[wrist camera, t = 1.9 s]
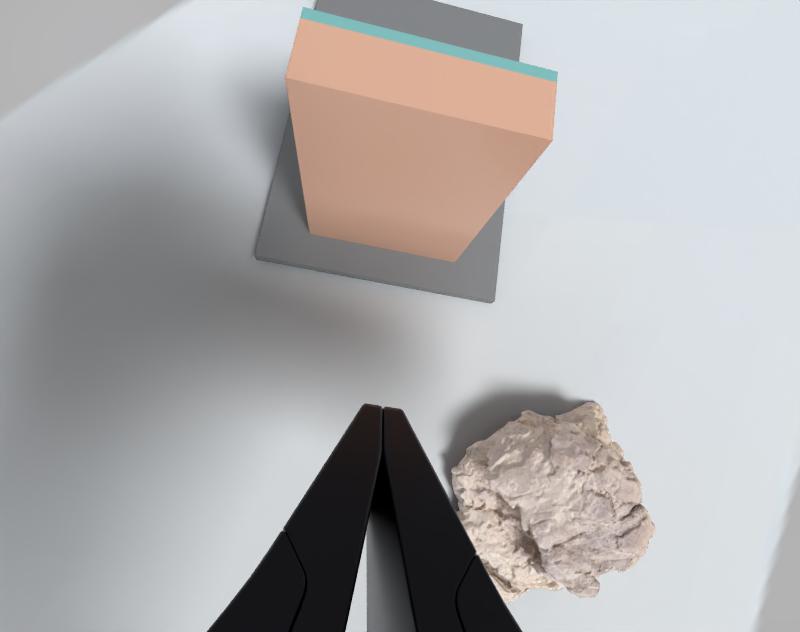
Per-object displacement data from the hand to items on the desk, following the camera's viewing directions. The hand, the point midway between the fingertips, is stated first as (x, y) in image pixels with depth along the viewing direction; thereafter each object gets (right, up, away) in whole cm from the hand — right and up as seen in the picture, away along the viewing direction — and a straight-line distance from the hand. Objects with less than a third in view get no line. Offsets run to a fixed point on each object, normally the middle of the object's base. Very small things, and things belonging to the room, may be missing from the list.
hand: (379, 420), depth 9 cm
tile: (0, +7, +14) cm, 16 cm away
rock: (+7, -8, +13) cm, 17 cm away
